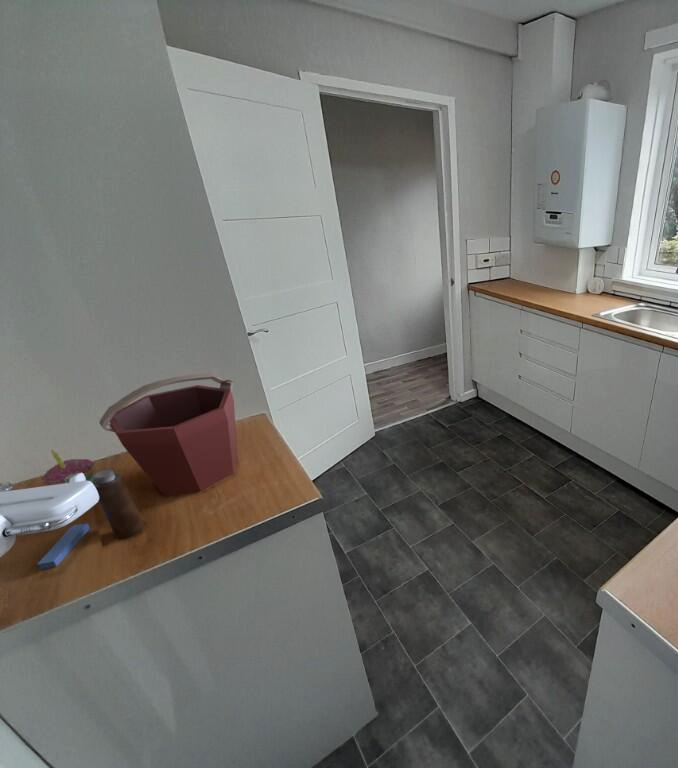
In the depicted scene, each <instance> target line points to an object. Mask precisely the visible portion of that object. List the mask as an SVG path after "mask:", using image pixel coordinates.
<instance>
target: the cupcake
mask: <svg viewBox="0 0 678 768" xmlns="http://www.w3.org/2000/svg"><path fill="white" fill-rule="evenodd" d="M50 451H51V452H52V453H51V454H52V456H53V458H54V459H55V461H56V462H57V464H55V465H54V466H52V467H50V468H49V469H48V470H46V472H45V473H44V474H43V476H42V481H43V483H44V486H50V485H58V484H65V481H64V479H65V478H66V477H68V476H69V475H70V474H76V473H83V474H84V476H85V478H86V481H91V482H93V481H94V475H95V474H96V471H97V468H98V467H97V465H96V464H95V462H94V461H93V460H91V459H88V458H74V459H73V458H71V459H68V460H64V461H63V460H62V458H61V457H60V456H59V454H58V453H57V451H54V450H53V449H51V450H50Z"/></svg>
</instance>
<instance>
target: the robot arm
mask: <svg viewBox="0 0 678 768" xmlns="http://www.w3.org/2000/svg"><path fill="white" fill-rule="evenodd" d="M64 481H65V484H58V485H50V486H46V485H43V486H35V487H28V488H19V489H14V487H13V486H12V483H11V482H9V481H7V482H0V558H1V557H3V556H4V555H5V554H6V553H7V552H9V551H10V550H11V549H12V548H13V546H14V545H15V542H16V540H17V539H16V538H17V537H18V536H24V535H31V534H37V533H38V534H39V533H44V532H49V531H54V530H58V529H61V528H63V527H66V526H68V525H69V524H70V523H72V522H74V521H76V520H77V519H78V518H80V517H81V516H82V515H84V514H85V513H86V512H88V511H89V510H90V509H92V508H93V507H94V506H95V505H97V504H98V503H99V502H98V501H99V494H98V492H97V489H96V488H95V486H94V484H93V483H92V482H91V481H86V478H85V476H84V474H83V473H76V474H70V475H69V476H68V477H66V478H65V479H64Z"/></svg>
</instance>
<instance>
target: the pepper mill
mask: <svg viewBox="0 0 678 768" xmlns="http://www.w3.org/2000/svg"><path fill="white" fill-rule="evenodd" d="M92 483H93V484H94V486H95V488H96V489H97V492H98V494H99V501H98V502H97V503H98V504H99V506H100V508H101V510H102V512H103V514H104V516H105V518H106V520H107V522H108V524H109V526H110V528H111V530H112V532H113V534H114V536H115V537H116V538H117V539H125V538H130V537H131V536H134V535H136V534H138V533H139V532H141V531H142V529H144V527H145V523H144V522H143V520H142V517H141V515H140V513H139V511H138V509H137V507H136V503H135V502H134V500H133V497H132V495H131V493H130V490H129V488H128V486H127V484H126V482H125V479H124V477H123V475H122V474H121V473H118V472H114V471H113V470H112V469H103V470H101V471H99V472H97V473H94V475H93V482H92Z"/></svg>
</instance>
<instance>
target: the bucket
mask: <svg viewBox="0 0 678 768" xmlns="http://www.w3.org/2000/svg"><path fill="white" fill-rule="evenodd" d="M202 380H205V381H206V380H211V381H213V382H215V383H216V384H217V383H218V384H220V385H219V387H214V386H206V385H199V384H195V385H192V386H191V385H190V386H186V387H180V388H177V389H172V390H166V391H162V392H157V393H152V394H148V395H145V394H147V393H149V392H151V391H154V390H157V389H160V388H162V387H166V386H170V385H174V384H178V383H185V382H194V381H202ZM234 384H235V382H234V381H233V380H231V379H229V378H224V377H218V376H216V375H214V374H212V373H211V372H208V373H207V372H206V373H196V374H195V373H194V374H186V375H180V376H175V377H174V376H173V377H169V378H165V379H161V380H156V381H154V382H153V381H152V382H151V383H147V384H144V385H142V386H140V387H138V388H137V389H135V390H133V391H131V392H130V393H129V394H126V395H125V396H123V397H121V399H119V400H117V402H115V403H114V404H112V405H111V406H109V407H108V408H107V409H106V411H105V412H104V413H103V415H102V416H101V418H100V420H99V422H98V423H99V424H100V427H101V428H102V429H103V430H104V431H108V432H113V433H115V435H116V437H117V438H118V440H119V442H120V443H121V445H122V446H123V448H124V449H125V451H126V452H127V453H128V454H129V455H130V456H131V458H132V459H133V460H134V461H135V462H136V464H137V465H138V466H139V467H140V468H141V470H142V471H143V472H144V473H145V474H146V476H147V477H148V478H149V479H150V481H151V482H152V483H153V484H154V485H155V486H156V488H157V489H158V490H159V491H160V492H161V494H162V495H163V496H173V495H183V494H189V493H190V494H192V493H199V492H203V491H204V490H206V489H209V488H210V487H212V486H214V485H215V484H217V483H219V482H221V481H223V480H224V479H226V478H228V477H230V476H232V475H233V474H234V472H235V469H236V464H237V461H238V444H237V429H236V427H237V426H236V414H235V413H236V412H235V399H234V396H233V394H232V392H233V388H234ZM142 396H143V397H142ZM140 397H141V398H140Z"/></svg>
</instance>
